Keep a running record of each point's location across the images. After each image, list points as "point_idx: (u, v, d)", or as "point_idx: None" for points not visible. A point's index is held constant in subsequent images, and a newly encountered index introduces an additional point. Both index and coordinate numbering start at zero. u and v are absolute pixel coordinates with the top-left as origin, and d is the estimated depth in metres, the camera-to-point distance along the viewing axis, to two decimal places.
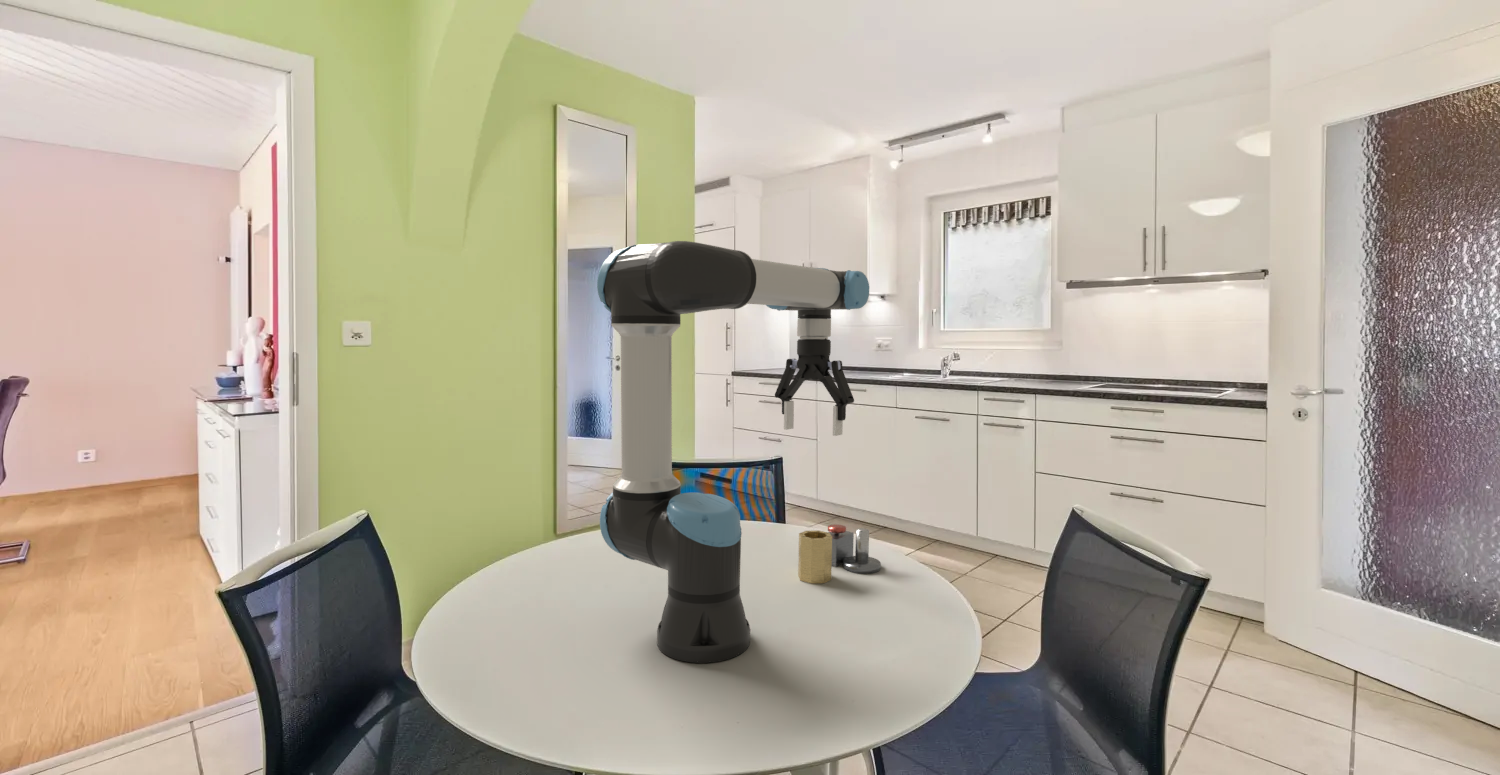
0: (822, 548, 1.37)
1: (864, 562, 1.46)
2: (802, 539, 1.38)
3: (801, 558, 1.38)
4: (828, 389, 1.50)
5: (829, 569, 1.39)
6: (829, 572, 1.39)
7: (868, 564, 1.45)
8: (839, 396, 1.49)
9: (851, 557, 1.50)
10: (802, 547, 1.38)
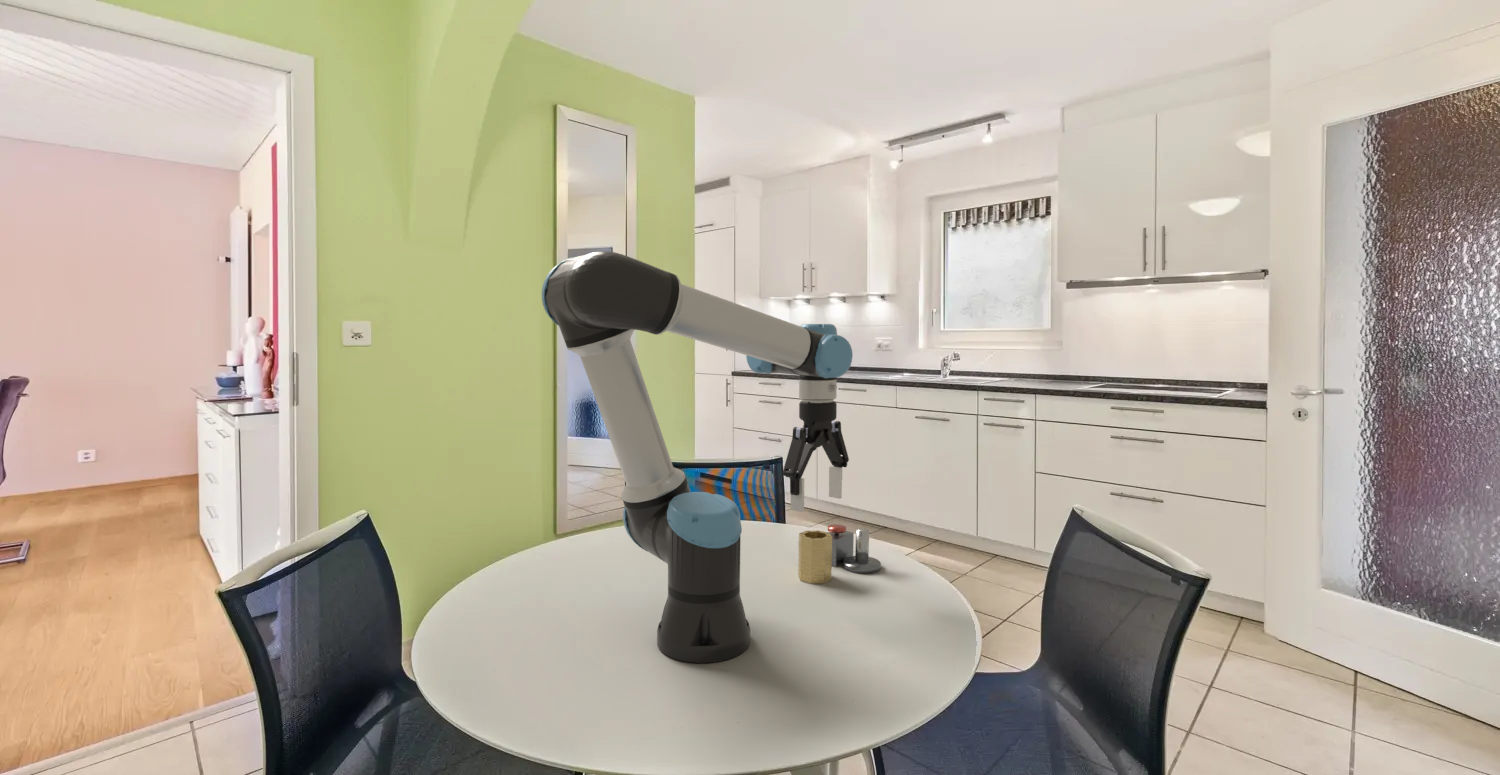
0: (822, 548, 1.37)
1: (864, 562, 1.46)
2: (802, 539, 1.38)
3: (801, 558, 1.38)
4: None
5: (829, 569, 1.39)
6: (829, 572, 1.39)
7: (868, 564, 1.45)
8: None
9: (851, 557, 1.50)
10: (802, 547, 1.38)
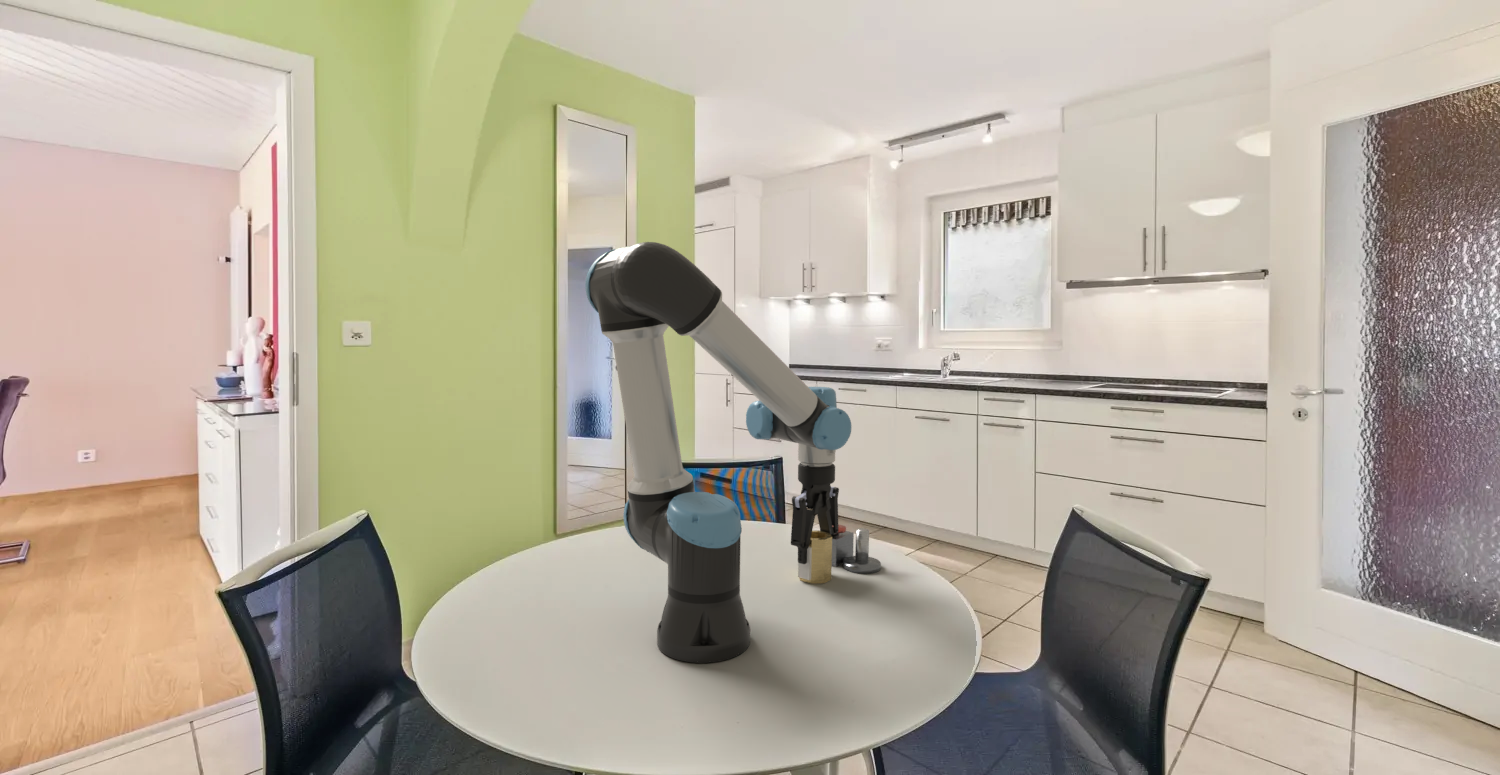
0: (822, 548, 1.37)
1: (864, 562, 1.46)
2: None
3: None
4: None
5: (829, 569, 1.39)
6: (829, 572, 1.39)
7: (868, 564, 1.45)
8: None
9: (851, 557, 1.50)
10: None
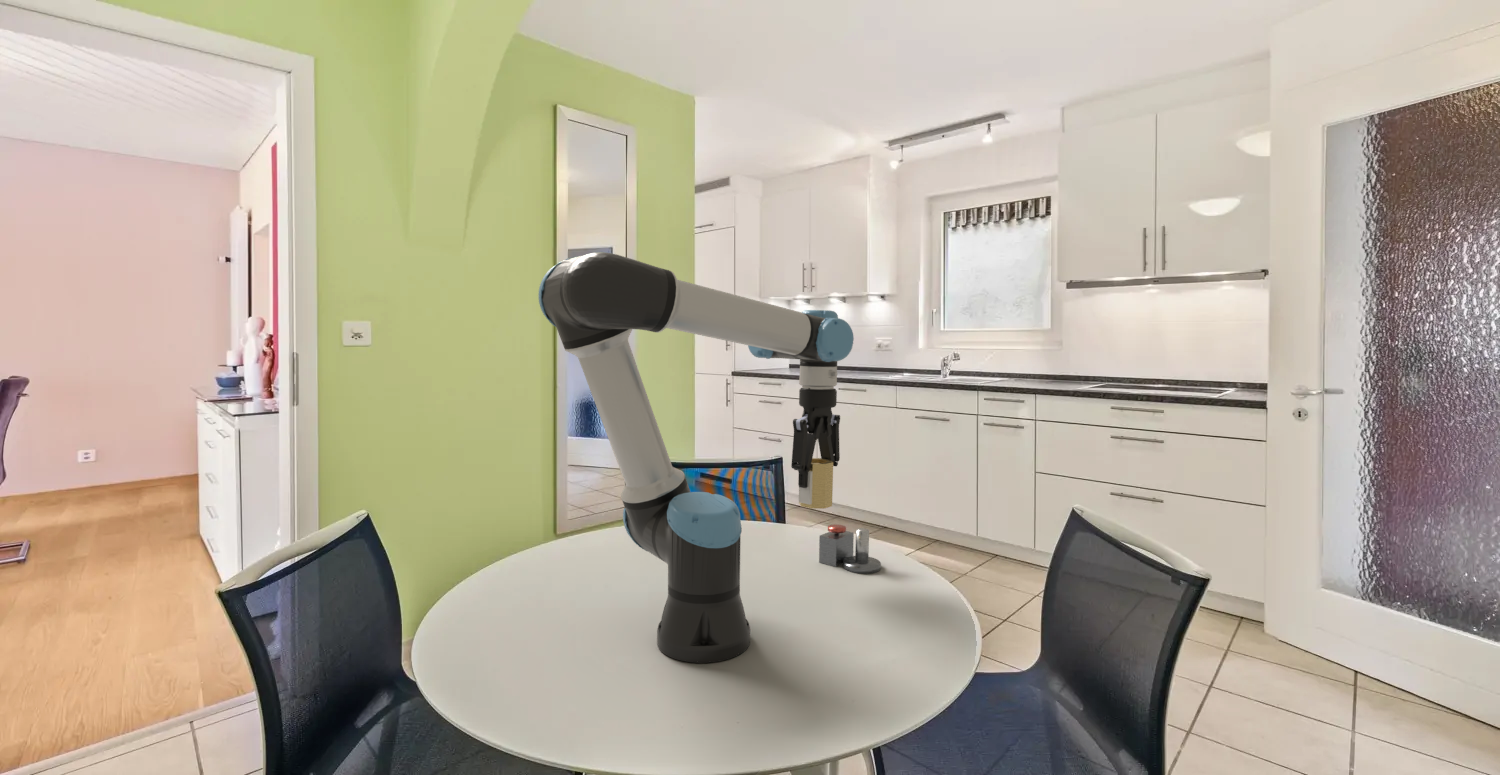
0: (823, 472, 1.35)
1: (864, 562, 1.46)
2: None
3: None
4: None
5: (830, 495, 1.37)
6: (830, 498, 1.37)
7: (868, 564, 1.45)
8: None
9: (851, 557, 1.50)
10: None
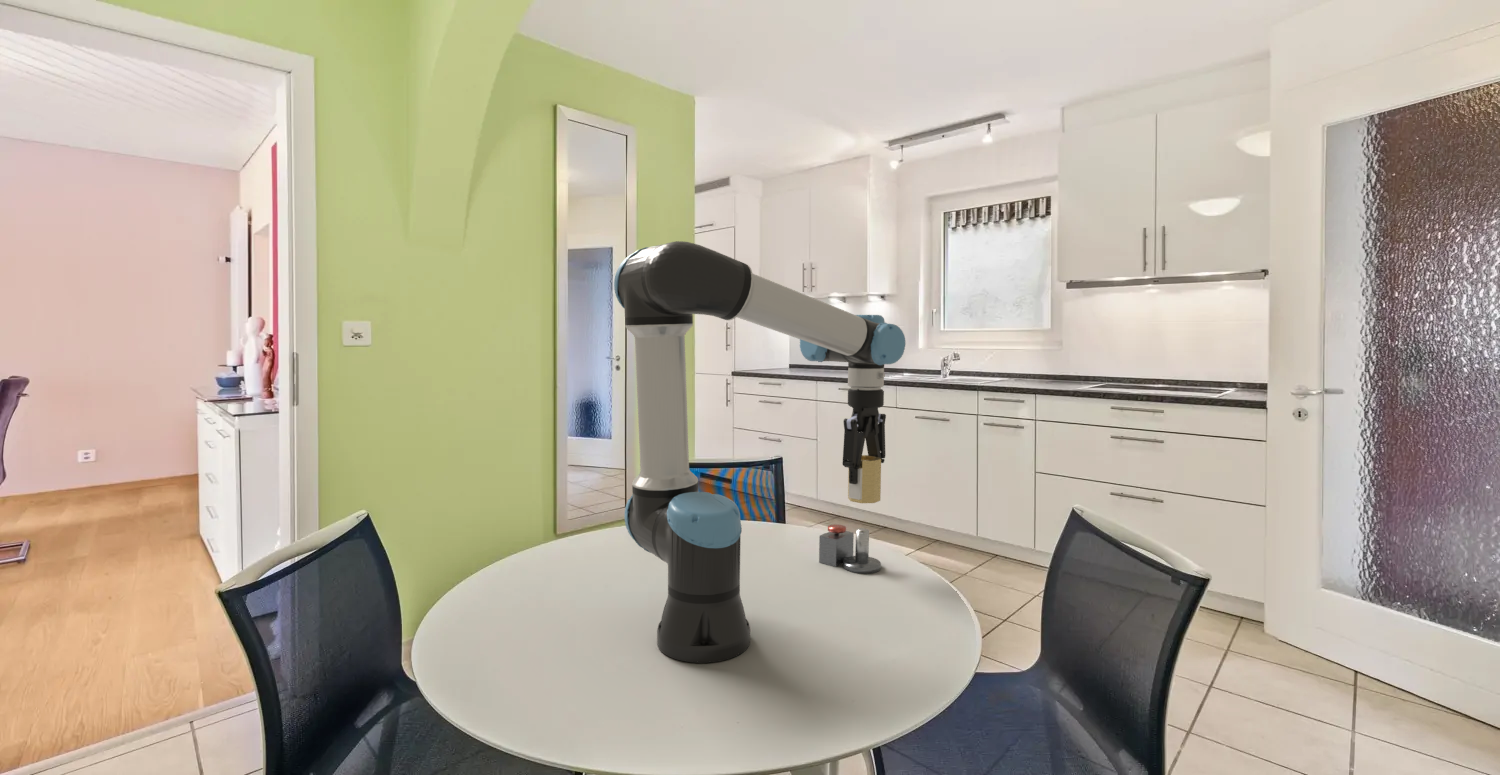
0: (872, 469, 1.42)
1: (864, 562, 1.46)
2: None
3: None
4: None
5: (878, 490, 1.44)
6: (878, 493, 1.44)
7: (868, 564, 1.45)
8: None
9: (851, 557, 1.50)
10: None
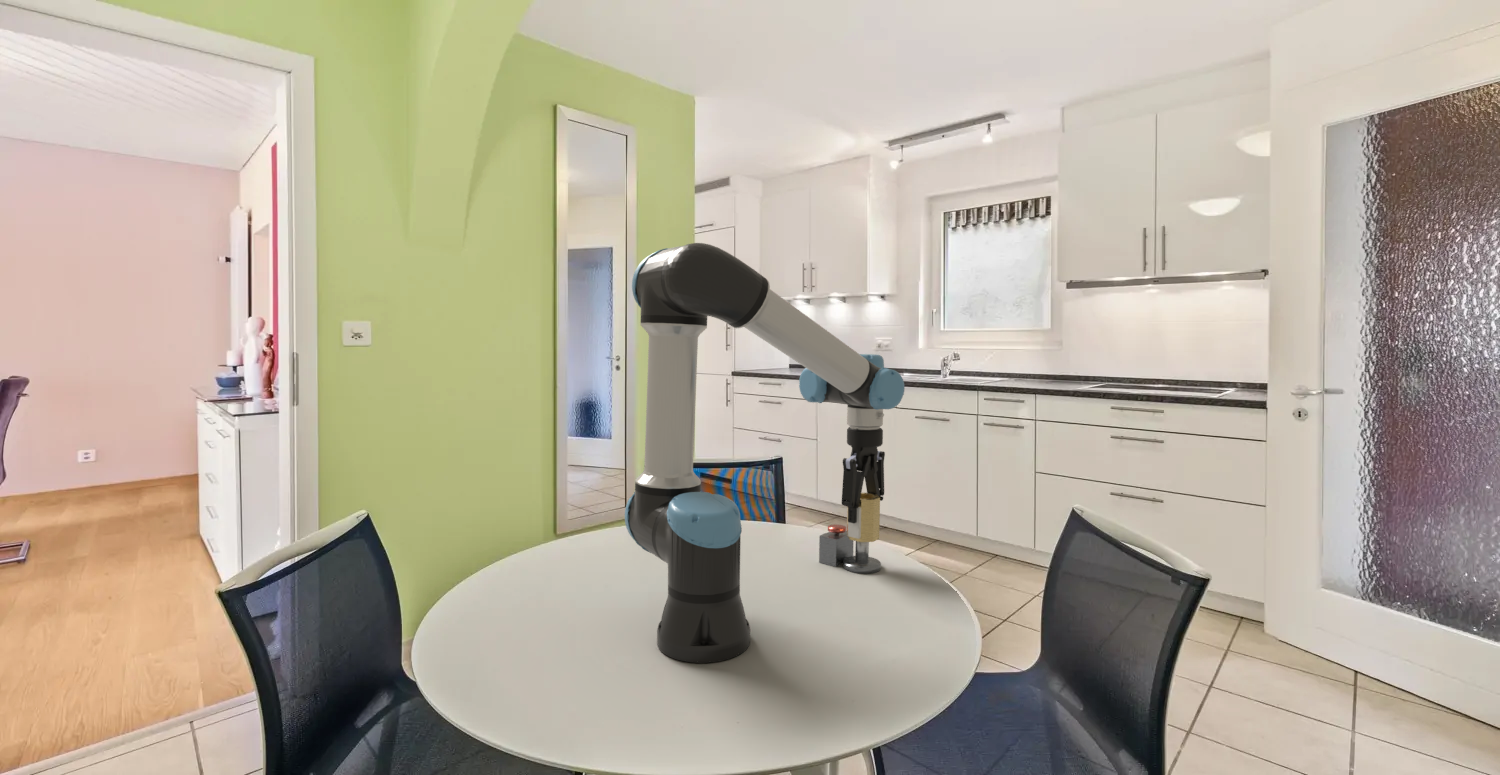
0: (871, 508, 1.43)
1: (864, 562, 1.46)
2: None
3: None
4: None
5: (877, 528, 1.45)
6: (877, 531, 1.45)
7: (868, 564, 1.45)
8: None
9: (851, 557, 1.50)
10: None
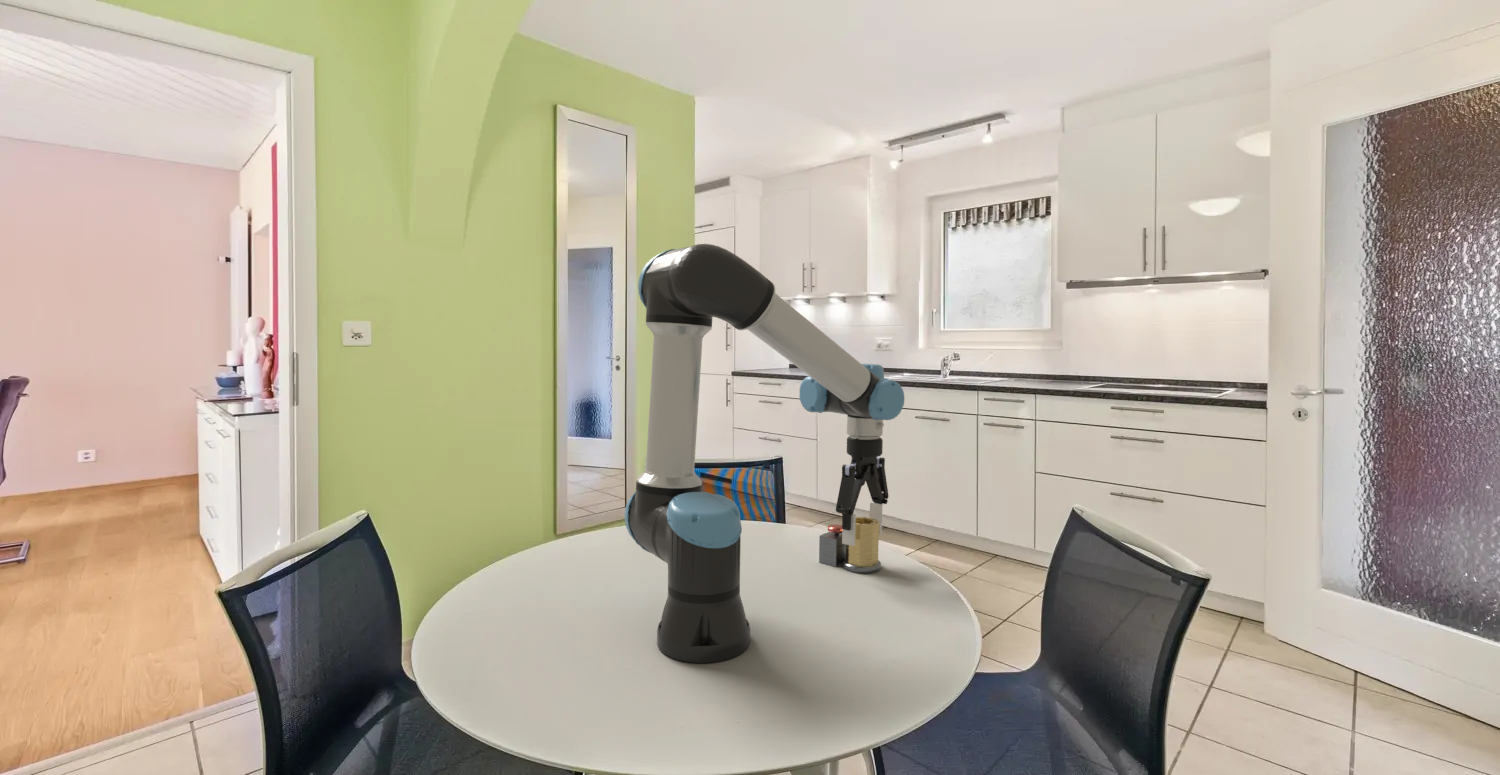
0: (870, 533, 1.43)
1: None
2: None
3: None
4: None
5: (876, 553, 1.45)
6: (876, 556, 1.45)
7: None
8: None
9: None
10: None
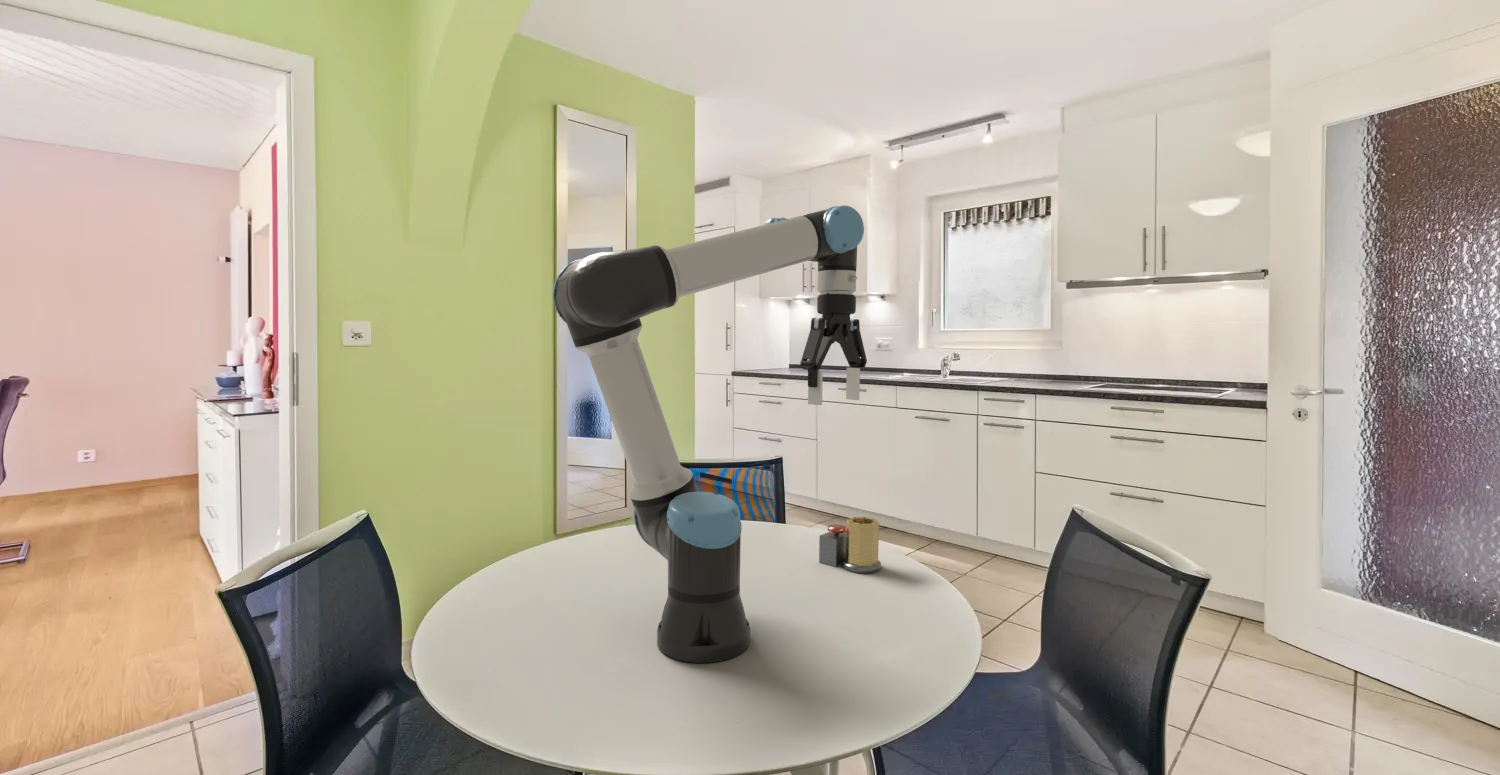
0: (870, 533, 1.43)
1: None
2: (850, 525, 1.44)
3: (849, 543, 1.45)
4: None
5: (876, 553, 1.45)
6: (876, 556, 1.45)
7: None
8: None
9: None
10: (850, 532, 1.45)
